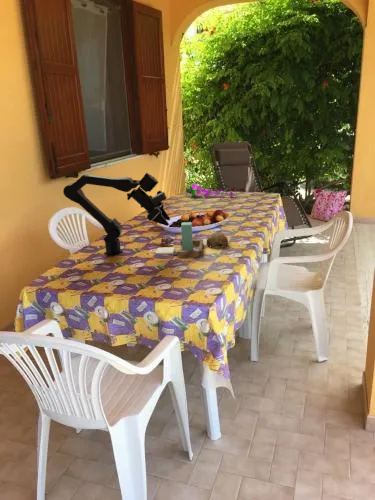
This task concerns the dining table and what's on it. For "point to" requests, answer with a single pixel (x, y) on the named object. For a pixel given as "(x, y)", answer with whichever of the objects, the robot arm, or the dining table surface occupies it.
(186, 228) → the teal block
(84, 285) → the dining table surface
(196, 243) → the walnut frame
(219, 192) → the purple flower spray
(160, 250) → the white tile
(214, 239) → the bread roll
